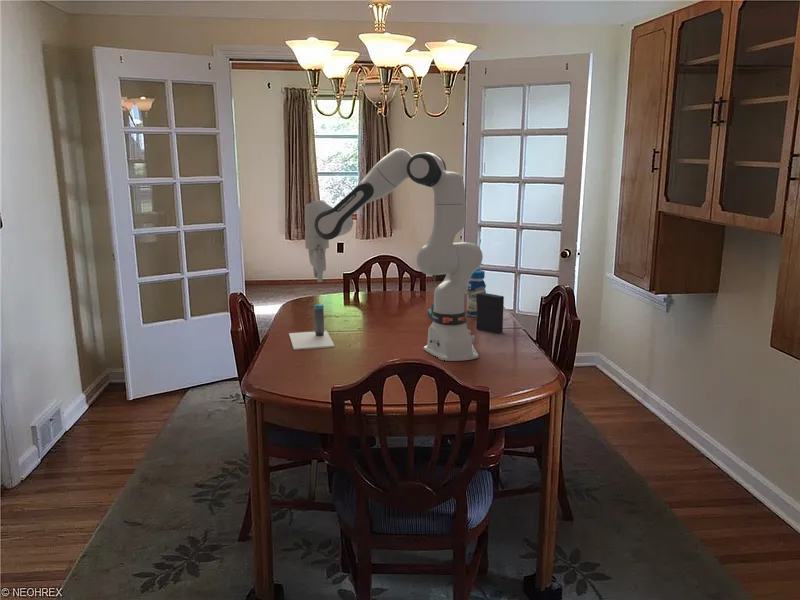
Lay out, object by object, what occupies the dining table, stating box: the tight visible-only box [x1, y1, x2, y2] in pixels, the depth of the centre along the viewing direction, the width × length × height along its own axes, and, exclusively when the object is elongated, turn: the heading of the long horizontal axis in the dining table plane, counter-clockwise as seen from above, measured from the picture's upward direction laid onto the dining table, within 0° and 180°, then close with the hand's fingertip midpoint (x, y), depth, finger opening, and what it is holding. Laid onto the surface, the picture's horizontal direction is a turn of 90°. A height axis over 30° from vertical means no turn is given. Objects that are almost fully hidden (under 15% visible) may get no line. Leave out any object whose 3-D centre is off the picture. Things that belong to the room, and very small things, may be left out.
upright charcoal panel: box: [475, 292, 505, 335], centre depth 258 cm, size 11×4×15 cm, turn 47°
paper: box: [288, 330, 336, 351], centre depth 245 cm, size 21×15×1 cm
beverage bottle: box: [466, 269, 487, 318], centre depth 283 cm, size 8×8×20 cm
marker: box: [313, 303, 325, 336], centre depth 249 cm, size 4×4×12 cm
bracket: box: [427, 303, 434, 319], centre depth 279 cm, size 18×7×8 cm, turn 8°
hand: (318, 279), depth 245 cm, fingers open, 8 cm apart
